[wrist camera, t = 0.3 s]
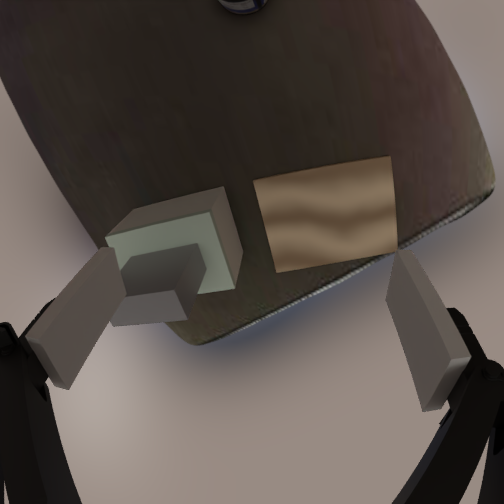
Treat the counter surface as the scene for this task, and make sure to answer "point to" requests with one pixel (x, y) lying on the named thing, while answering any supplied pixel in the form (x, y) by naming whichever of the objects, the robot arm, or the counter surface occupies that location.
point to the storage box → (192, 204)
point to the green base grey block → (169, 267)
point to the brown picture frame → (329, 213)
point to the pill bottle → (243, 6)
